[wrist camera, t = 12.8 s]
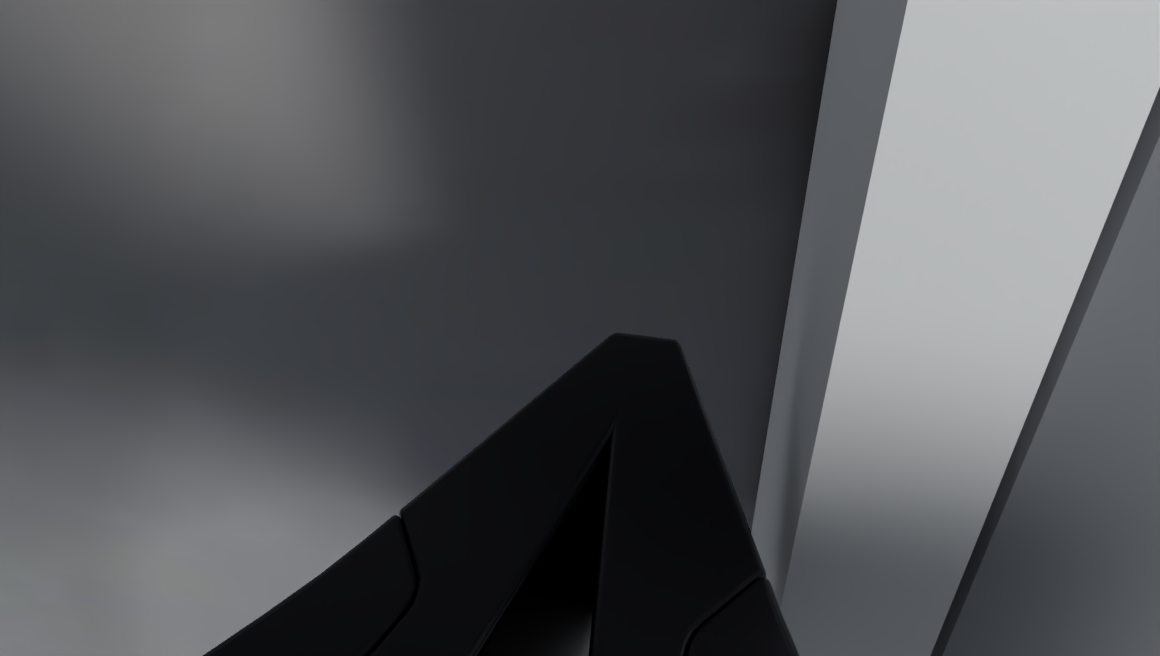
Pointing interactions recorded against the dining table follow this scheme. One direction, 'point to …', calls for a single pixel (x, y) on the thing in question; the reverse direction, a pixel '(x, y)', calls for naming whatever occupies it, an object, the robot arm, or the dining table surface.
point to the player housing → (1083, 466)
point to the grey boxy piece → (934, 291)
